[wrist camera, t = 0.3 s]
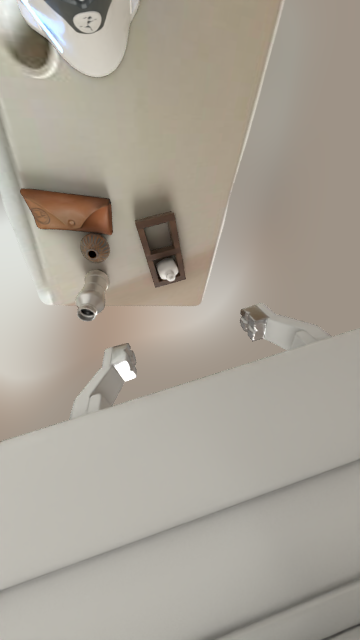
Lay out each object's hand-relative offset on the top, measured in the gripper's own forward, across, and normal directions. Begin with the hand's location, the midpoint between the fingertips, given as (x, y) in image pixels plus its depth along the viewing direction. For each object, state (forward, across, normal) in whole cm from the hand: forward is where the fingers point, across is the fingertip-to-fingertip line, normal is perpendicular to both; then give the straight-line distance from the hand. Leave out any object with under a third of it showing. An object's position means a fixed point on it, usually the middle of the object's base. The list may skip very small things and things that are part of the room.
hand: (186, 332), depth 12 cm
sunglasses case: (+46, +16, -6) cm, 50 cm away
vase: (+46, +14, +2) cm, 49 cm away
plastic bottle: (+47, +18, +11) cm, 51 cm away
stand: (+46, -3, +8) cm, 47 cm away
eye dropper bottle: (+47, -3, +12) cm, 48 cm away
